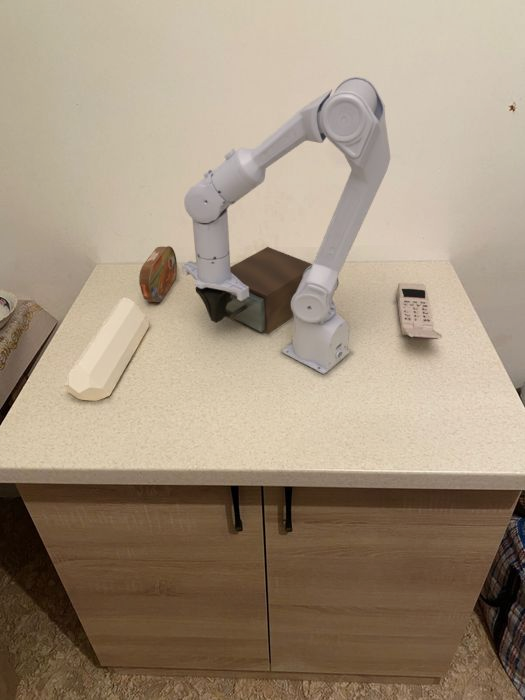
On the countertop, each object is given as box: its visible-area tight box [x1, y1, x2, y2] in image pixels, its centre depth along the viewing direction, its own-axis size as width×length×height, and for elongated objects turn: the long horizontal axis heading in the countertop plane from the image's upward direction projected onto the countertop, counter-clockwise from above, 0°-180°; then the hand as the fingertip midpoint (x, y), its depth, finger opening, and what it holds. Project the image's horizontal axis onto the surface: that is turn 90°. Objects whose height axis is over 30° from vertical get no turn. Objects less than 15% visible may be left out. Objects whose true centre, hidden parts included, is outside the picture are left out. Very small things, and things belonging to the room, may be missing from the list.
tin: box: [138, 245, 178, 303], centre depth 107 cm, size 15×3×8 cm, turn 168°
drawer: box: [223, 292, 265, 333], centre depth 98 cm, size 18×11×7 cm, turn 138°
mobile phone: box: [396, 282, 443, 340], centre depth 96 cm, size 6×6×25 cm
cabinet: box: [230, 246, 313, 335], centre depth 101 cm, size 15×13×9 cm
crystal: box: [63, 296, 150, 402], centre depth 89 cm, size 7×7×24 cm
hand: (217, 319), depth 93 cm, fingers closed, pressing on drawer
